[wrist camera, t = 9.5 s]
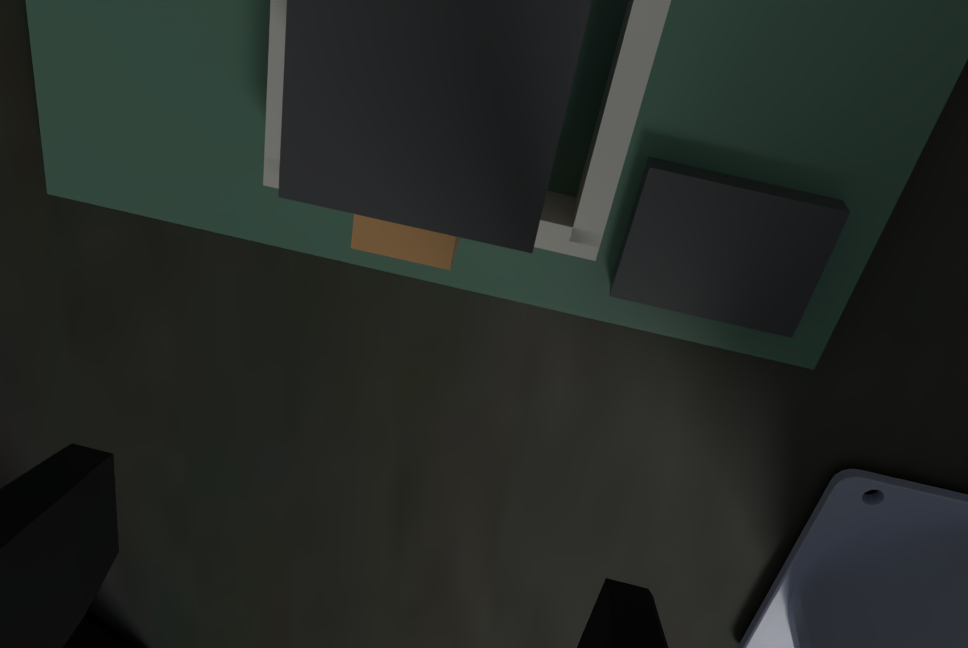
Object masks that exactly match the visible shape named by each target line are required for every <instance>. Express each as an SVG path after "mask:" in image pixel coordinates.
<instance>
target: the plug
mask: <svg viewBox="0 0 968 648" xmlns="http://www.w3.org/2000/svg"><path fill="white" fill-rule="evenodd" d="M591 1H592V0H287V10H286V32H285V55H284V78H283V100H282V123H281V146H280V168H279V191H278V197H280V198H284V199H289V200H293V201H298V202H302V203H307V204H311V205H316V206H320V207H325V208H329V209H334V210H338V211H343V212H347V213H352V214H354V220H353V230H352V240H351V248H352V249H357V250H361V251H366V252H370V253H375V254H379V255H384V256H388V257H393V258H397V259H402V260H406V261H411V262H415V263H420V264H424V265H429V266H433V267H438V268H442V269H446V270H450V268H451V266H452V263H453V260H454V257H455V255H456V252H457V249H458V246H459V244H460V241H461V238H465V239H469V240H474V241H478V242H483V243H487V244H492V245H496V246H501V247H505V248H510V249H514V250H519V251H523V252H528V253H533V249H534V244H535V240H536V236H537V232H538V227H539V223H540V219H541V215H542V210H543V206H544V202H545V197H546V193H547V189H548V185H549V180H550V176H551V172H552V168H553V163H554V159H555V155H556V151H557V146H558V142H559V138H560V134H561V129H562V125H563V121H564V116H565V112H566V108H567V104H568V99H569V95H570V91H571V87H572V82H573V78H574V74H575V70H576V65H577V61H578V57H579V52H580V48H581V44H582V40H583V35H584V31H585V27H586V23H587V18H588V14H589V10H590V6H591Z"/></svg>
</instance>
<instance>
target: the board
mask: <svg viewBox="0 0 968 648" xmlns="http://www.w3.org/2000/svg"><path fill="white" fill-rule="evenodd" d="M26 9H27V18H28V27H29V36H30V44H31V53H32V62H33V71H34V80H35V89H36V97H37V106H38V115H39V124H40V133H41V142H42V151H43V159H44V168H45V177H46V186H47V194H50V195H55V196H59V197H64V198H68V199H72V200H77V201H81V202H85V203H90V204H94V205H98V206H103V207H107V208H111V209H116V210H120V211H125V212H129V213H133V214H138V215H142V216H146V217H151V218H155V219H159V220H164V221H168V222H172V223H177V224H181V225H186V226H190V227H194V228H199V229H203V230H207V231H212V232H216V233H220V234H225V235H229V236H233V237H238V238H242V239H247V240H251V241H255V242H260V243H264V244H268V245H273V246H277V247H281V248H286V249H290V250H294V251H299V252H303V253H308V254H312V255H316V256H321V257H325V258H329V259H334V260H338V261H342V262H347V263H351V264H355V265H360V266H364V267H369V268H373V269H377V270H382V271H386V272H390V273H395V274H399V275H403V276H408V277H412V278H416V279H421V280H425V281H430V282H434V283H438V284H443V285H447V286H451V287H456V288H460V289H464V290H469V291H473V292H478V293H482V294H486V295H491V296H495V297H499V298H504V299H508V300H512V301H517V302H521V303H525V304H530V305H534V306H539V307H543V308H547V309H552V310H556V311H560V312H565V313H569V314H573V315H578V316H582V317H586V318H591V319H595V320H600V321H604V322H608V323H613V324H617V325H621V326H626V327H630V328H634V329H639V330H643V331H647V332H652V333H656V334H661V335H665V336H669V337H674V338H678V339H682V340H687V341H691V342H695V343H700V344H704V345H708V346H713V347H717V348H722V349H726V350H730V351H735V352H739V353H743V354H748V355H752V356H756V357H761V358H765V359H769V360H774V361H778V362H783V363H787V364H791V365H796V366H800V367H804V368H809V369H813V370H814V369H815V367H816V365H817V363H818V361H819V359H820V357H821V355H822V353H823V351H824V349H825V347H826V345H827V343H828V340H829V338H830V336H831V334H832V332H833V330H834V328H835V326H836V324H837V322H838V320H839V318H840V316H841V314H842V312H843V310H844V308H845V306H846V304H847V302H848V300H849V298H850V296H851V294H852V292H853V290H854V288H855V286H856V284H857V282H858V280H859V278H860V276H861V274H862V272H863V270H864V268H865V266H866V264H867V262H868V260H869V258H870V256H871V254H872V252H873V249H874V247H875V245H876V243H877V241H878V239H879V237H880V235H881V233H882V231H883V229H884V227H885V225H886V223H887V221H888V219H889V217H890V215H891V213H892V211H893V209H894V207H895V205H896V203H897V201H898V199H899V197H900V195H901V193H902V191H903V189H904V187H905V185H906V183H907V181H908V179H909V177H910V175H911V173H912V171H913V169H914V167H915V165H916V163H917V160H918V158H919V156H920V154H921V152H922V150H923V148H924V146H925V144H926V142H927V140H928V138H929V136H930V134H931V132H932V130H933V128H934V126H935V124H936V122H937V120H938V118H939V116H940V114H941V112H942V110H943V108H944V106H945V104H946V102H947V100H948V98H949V96H950V94H951V92H952V90H953V88H954V86H955V84H956V82H957V80H958V78H959V76H960V74H961V72H962V69H963V67H964V65H965V63H966V61H967V59H968V0H592V1H591V6H590V10H589V14H588V18H587V23H586V27H585V31H584V35H583V40H582V44H581V48H580V52H579V57H578V61H577V65H576V70H575V74H574V78H573V82H572V87H571V91H570V95H569V99H568V104H567V108H566V112H565V116H564V121H563V125H562V129H561V134H560V138H559V142H558V146H557V151H556V155H555V159H554V163H553V168H552V172H551V176H550V180H549V185H548V189H547V193H546V197H545V202H544V206H543V210H542V215H541V219H540V223H539V227H538V232H537V236H536V240H535V244H534V249H533V253H528V252H523V251H519V250H514V249H510V248H505V247H501V246H496V245H492V244H487V243H483V242H478V241H474V240H469V239H465V238H461V241H460V244H459V246H458V249H457V252H456V255H455V257H454V260H453V263H452V266H451V268H450V270H446V269H442V268H438V267H433V266H429V265H424V264H420V263H415V262H411V261H406V260H402V259H397V258H393V257H388V256H384V255H379V254H375V253H370V252H366V251H361V250H357V249H352V248H351V240H352V230H353V220H354V214H352V213H347V212H343V211H338V210H334V209H329V208H325V207H320V206H316V205H311V204H307V203H302V202H298V201H293V200H289V199H284V198H280V197H278V191H279V168H280V146H281V123H282V100H283V78H284V55H285V32H286V10H287V0H26Z"/></svg>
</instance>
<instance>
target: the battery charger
mask: <svg viewBox="0 0 968 648" xmlns="http://www.w3.org/2000/svg"><path fill="white" fill-rule="evenodd" d="M63 648H131V647H130V646H129V645H128V644H126V643H125V642H124V641H123V640H121V639H120V638H119V637H117V636H116V635H115V634H113V633H112V632H111V631H110V630H108V629H107V628H106V627H104V626H103V625H102V624H100V623H99V622H98V621H96V620H95V619H94V618H92V617H91V616H90V615H88V614H87V613H86V614H85V615H84V617H83V619H82V620H81V622H80V623H79V625H78V626H77V628H76V629H75V630H74V632H73V633H72V635H71V636H70V638H69V639H68V641H67V642H66V643H65V645H64V646H63Z"/></svg>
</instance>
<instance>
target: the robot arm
mask: <svg viewBox="0 0 968 648" xmlns="http://www.w3.org/2000/svg"><path fill="white" fill-rule="evenodd" d="M869 490H878V491H877V492H876V493H873V494H864V493H865V492H867V491H869ZM118 552H119V547H118V529H117V511H116V494H115V476H114V459H113V454H112V453H108V452H104V451H100V450H96V449H92V448H88V447H84V446H80V445H76V444H70V445H69V446H67V447H65V448H64V449H62V450H60V451H59V452H57V453H56V454H54V455H52V456H51V457H49V458H48V459H46V460H45V461H43V462H41V463H40V464H38V465H37V466H35V467H34V468H32V469H31V470H29V471H27V472H26V473H24V474H23V475H21V476H20V477H18V478H17V479H15V480H14V481H12V482H10V483H9V484H7V485H6V486H4V487H3V488H1V489H0V648H63V646H64V645H65V643H66V642H67V641H68V639H69V638H70V636H71V635H72V633H73V632H74V630H75V629H76V628H77V626H78V625H79V623H80V622H81V620H82V619H83V617H84V615H85V614H86V612H87V610H88V608H89V606H90V605H91V603H92V601H93V599H94V597H95V596H96V594H97V592H98V590H99V588H100V587H101V585H102V583H103V581H104V579H105V577H106V575H107V573H108V571H109V569H110V567H111V565H112V564H113V562H114V560H115V558H116V556H117V554H118ZM577 648H668V645H667V642H666V639H665V636H664V632H663V629H662V626H661V623H660V619H659V616H658V612H657V609H656V605H655V602H654V598H653V596H652V594H651V592H650V591H649V589H647V588H643V587H639V586H635V585H631V584H627V583H623V582H619V581H615V580H611V579H607V578H606V579H605V582H604V584H603V587H602V589H601V591H600V594H599V596H598V599H597V601H596V603H595V606H594V608H593V610H592V613H591V615H590V618H589V620H588V622H587V625H586V627H585V630H584V632H583V634H582V637H581V639H580V642H579V644H578V646H577ZM737 648H968V495H967V494H963V493H959V492H954V491H950V490H946V489H942V488H937V487H933V486H929V485H924V484H920V483H916V482H911V481H907V480H903V479H898V478H894V477H890V476H885V475H881V474H877V473H872V472H868V471H864V470H859V469H847V470H842V471H840V472H839V473H837V474H835V475H834V477H833V478H832V479H831V480H830V482H829V484H828V486H827V488H826V489H825V491H824V493H823V495H822V497H821V498H820V500H819V502H818V504H817V506H816V507H815V509H814V511H813V513H812V515H811V516H810V518H809V520H808V522H807V523H806V525H805V527H804V529H803V531H802V532H801V534H800V536H799V538H798V540H797V541H796V543H795V545H794V547H793V549H792V550H791V552H790V554H789V556H788V558H787V559H786V561H785V563H784V565H783V566H782V568H781V570H780V572H779V574H778V575H777V577H776V579H775V581H774V583H773V584H772V586H771V588H770V590H769V592H768V593H767V595H766V597H765V599H764V601H763V602H762V604H761V606H760V608H759V609H758V611H757V613H756V615H755V617H754V618H753V620H752V622H751V624H750V626H749V627H748V629H747V631H746V633H745V635H744V636H743V638H742V640H741V642H740V644H739V645H738V647H737Z"/></svg>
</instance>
